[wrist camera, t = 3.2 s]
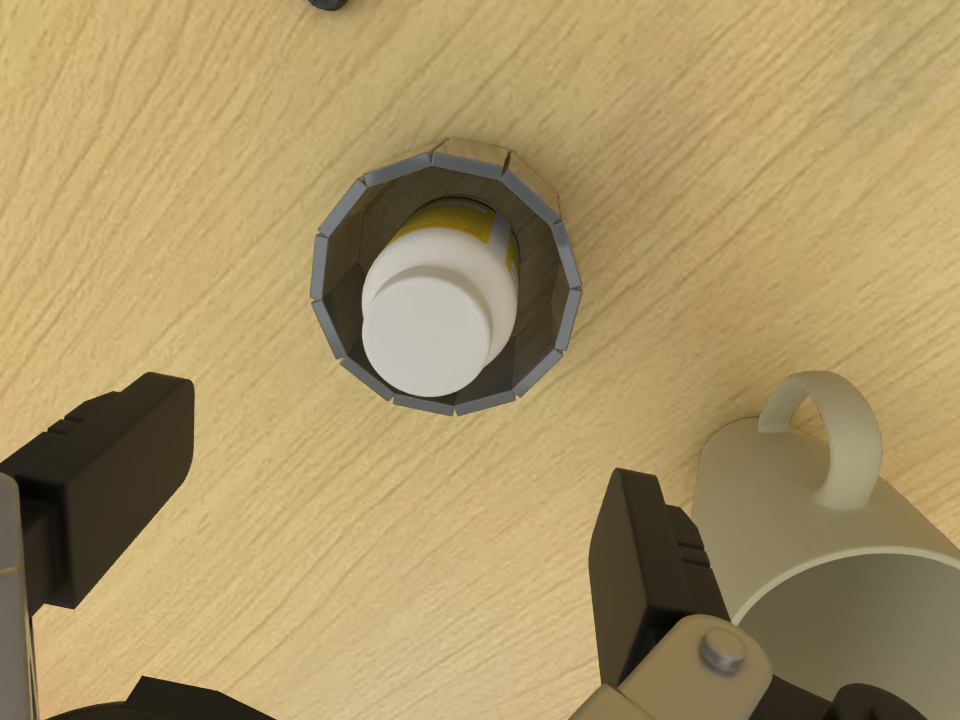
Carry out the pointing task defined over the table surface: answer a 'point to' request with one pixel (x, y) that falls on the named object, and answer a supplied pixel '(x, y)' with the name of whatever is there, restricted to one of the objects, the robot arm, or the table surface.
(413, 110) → the table surface
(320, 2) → the smartphone
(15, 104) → the table surface
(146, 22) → the table surface
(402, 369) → the supplement bottle
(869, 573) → the mug
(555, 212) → the grey ring
